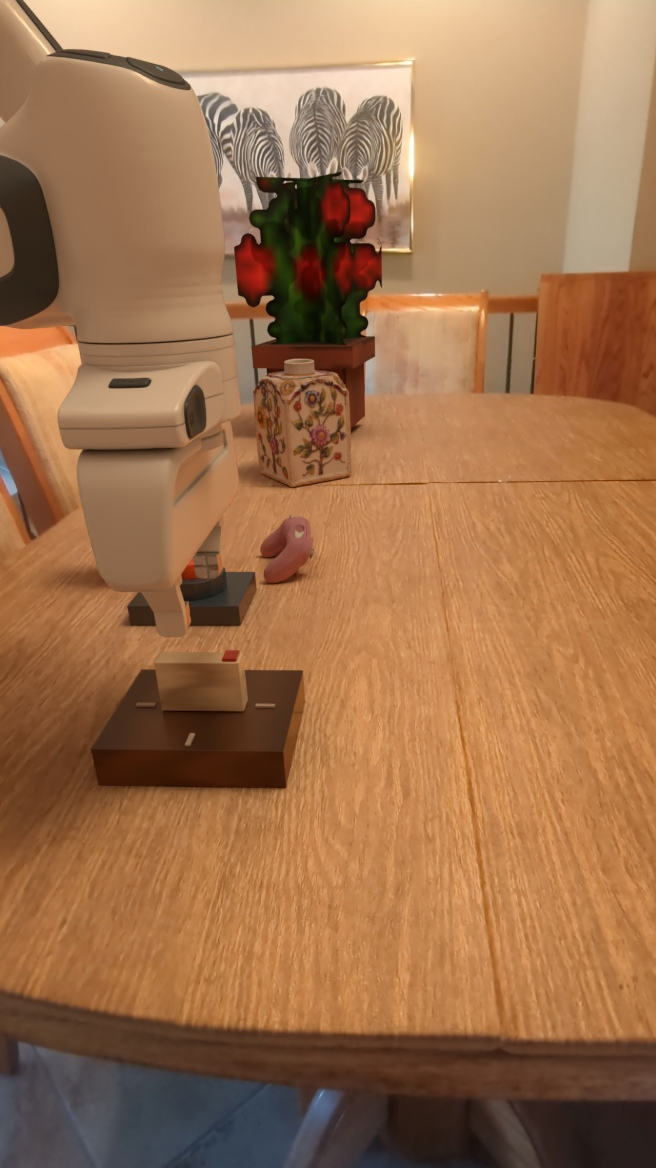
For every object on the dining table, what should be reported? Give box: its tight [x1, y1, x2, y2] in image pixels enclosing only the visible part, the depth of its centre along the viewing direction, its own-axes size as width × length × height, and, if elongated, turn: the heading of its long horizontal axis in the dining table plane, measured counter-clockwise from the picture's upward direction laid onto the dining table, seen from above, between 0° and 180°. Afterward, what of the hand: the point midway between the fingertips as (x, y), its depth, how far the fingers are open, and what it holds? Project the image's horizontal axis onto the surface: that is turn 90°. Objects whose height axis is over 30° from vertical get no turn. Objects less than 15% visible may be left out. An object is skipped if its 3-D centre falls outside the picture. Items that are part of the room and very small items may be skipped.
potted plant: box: [233, 171, 383, 430], centre depth 146 cm, size 22×22×45 cm
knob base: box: [90, 668, 306, 789], centre depth 56 cm, size 13×11×3 cm
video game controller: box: [259, 514, 316, 584], centre depth 86 cm, size 10×5×7 cm, turn 9°
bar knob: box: [153, 649, 248, 711], centre depth 54 cm, size 6×2×4 cm, turn 87°
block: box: [126, 566, 258, 627], centre depth 77 cm, size 11×9×4 cm
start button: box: [181, 558, 198, 579], centre depth 76 cm, size 4×4×2 cm
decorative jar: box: [252, 359, 352, 488], centre depth 121 cm, size 12×12×18 cm
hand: (194, 601), depth 51 cm, fingers open, 8 cm apart
